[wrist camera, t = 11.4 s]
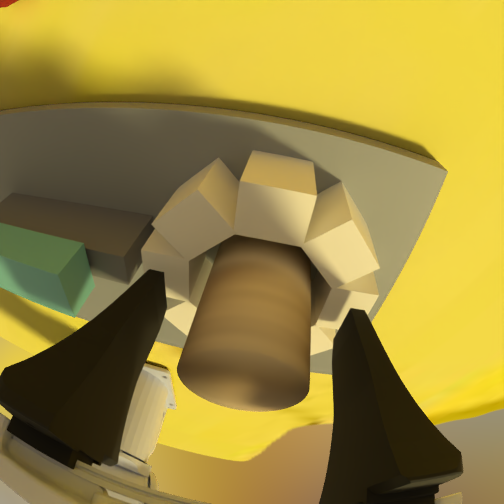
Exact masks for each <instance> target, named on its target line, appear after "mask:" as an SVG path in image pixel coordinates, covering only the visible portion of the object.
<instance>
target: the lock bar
mask: <svg viewBox="0 0 504 504" xmlns="http://www.w3.org/2000/svg"><path fill="white" fill-rule="evenodd" d="M0 287H1V288H3V289H5V290H7V291H10V292H12V293H14V294H16V295H19V296H21V297H23V298H26V299H28V300H31V301H33V302H35V303H38V304H40V305H43V306H45V307H48V308H51V309H53V310H56V311H58V312H61V313H64V314H66V315H69V316H72V317H76V315H77V314H78V312H79V310H80V309H81V307H82V306H83V304H84V303H85V301H86V299H87V298H88V296H89V295H90V293H91V292H92V290H93V289H94V287H95V284H94V280H93V277H92V273H91V270H90V266H89V262H88V258H87V254H86V250H85V246H84V243H81V242H77V241H73V240H68V239H64V238H60V237H56V236H52V235H48V234H44V233H39V232H35V231H31V230H27V229H23V228H19V227H15V226H12V225H8V224H4V223H0Z"/></svg>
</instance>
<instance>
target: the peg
mask: <svg viewBox="0 0 504 504" xmlns="http://www.w3.org/2000/svg"><path fill="white" fill-rule="evenodd" d="M310 353H311V260H310V258H309V257H308V256H307V254H306V253H305V252H304V250H303V249H302V248H301V247H299V246H293V245H288V244H283V243H278V242H273V241H268V240H263V239H257V238H252V237H247V236H242V235H236V234H234V235H233V236H231V237H229V238H227V239H226V240H224V241H222V242H221V244H220V247H219V249H218V252H217V255H216V257H215V260H214V263H213V266H212V268H211V271H210V274H209V277H208V279H207V282H206V285H205V288H204V291H203V293H202V296H201V299H200V302H199V305H198V307H197V310H196V313H195V316H194V319H193V322H192V325H191V327H190V330H189V333H188V336H187V339H186V342H185V345H184V348H183V351H182V354H181V357H180V360H179V363H178V366H177V373H178V376H179V378H180V380H181V381H182V383H183V384H184V385H185V386H186V387H187V388H188V389H189V390H191V391H192V392H193V393H195V394H196V395H198V396H200V397H202V398H203V399H206V400H208V401H210V402H212V403H215V404H218V405H221V406H224V407H228V408H232V409H237V410H244V411H258V412H262V411H275V410H281V409H285V408H288V407H291V406H293V405H296V404H298V403H299V402H301V401H302V400H303V399H304V398H305V397H306V396H307V394H308V392H309V385H310Z"/></svg>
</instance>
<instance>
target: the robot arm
mask: <svg viewBox="0 0 504 504" xmlns="http://www.w3.org/2000/svg"><path fill="white" fill-rule="evenodd" d="M166 310H167V300H166V289H165V277H164V272H161V271H156V270H152V269H149V270H147V271H146V272H145V273H144V274H143V275H142V276H141V277H140V278H139V279H138V280H137V281H136V282H135V283H134V284H132V285H131V286H130V287H129V288H128V289H127V290H126V291H125V292H124V293H123V294H122V295H120V296H119V297H118V298H117V299H116V300H115V301H114V302H113V303H111V304H110V305H109V306H108V307H107V308H106V309H104V310H103V311H102V312H101V313H99V314H98V315H97V316H96V317H95V318H93V319H92V320H91V321H89V322H88V323H87V324H85V325H84V326H83V327H81V328H80V329H79V330H77V331H76V332H74V333H73V334H71V335H70V336H68V337H67V338H65V339H63V340H62V341H60V342H59V343H57V344H55V345H54V346H52V347H50V348H48V349H46V350H44V351H42V352H40V353H38V354H37V355H35V356H33V357H30V358H28V359H26V360H24V361H21V362H19V363H16V364H14V365H11V366H9V367H6V368H5V369H4V370H3V372H2V373H1V375H0V405H1V406H3V407H4V408H5V409H6V410H7V411H8V412H10V413H11V414H12V415H13V417H12V419H11V420H9V419H8V418H7V417H5V416H4V415H3V414H1V413H0V480H2V481H3V482H4V483H5V484H6V485H7V486H8V487H10V488H11V489H12V490H13V491H14V492H16V493H17V494H18V495H19V496H21V497H22V498H23V499H24V500H26V501H27V502H28V503H30V504H210V503H204V502H200V501H195V500H191V499H186V498H182V497H178V496H175V495H171V494H167V493H164V492H160V491H159V485H158V481H157V479H156V477H155V475H154V473H153V472H151V467H152V466H150V465H148V464H147V461H148V458H149V456H150V455H151V454H152V453H153V451H154V450H155V447H156V444H157V441H158V437H159V434H160V431H161V427H162V424H163V421H164V417H165V414H166V411H167V408H170V409H176V407H177V405H176V400H175V395H174V390H173V385H172V379H171V374H170V371H168V370H167V369H164V368H160V367H157V366H153V365H150V364H146V363H145V362H146V360H147V358H148V355H149V353H150V351H151V349H152V347H153V344H154V342H155V340H156V338H157V335H158V333H159V331H160V328H161V325H162V322H163V319H164V316H165V313H166ZM332 379H333V402H334V422H333V433H332V441H331V449H330V456H329V462H328V468H327V473H326V479H325V483H324V487H323V491H322V495H321V498H320V502H319V504H462V493H461V492H459V493H455V494H452V495H448V496H444V497H441V498H437V499H435V496H434V494H436V493H438V491H439V485H440V484H443V483H445V482H448V481H450V480H453V479H455V478H457V477H459V476H461V474H462V473H463V464H462V456H461V452H460V451H459V450H458V449H457V448H456V447H455V446H454V445H452V444H451V443H450V442H449V441H448V440H447V439H446V438H445V437H444V436H443V435H442V434H441V433H440V431H439V430H438V429H437V428H436V427H435V426H434V425H433V423H432V422H431V421H430V420H429V419H428V417H427V416H426V415H425V414H424V412H423V411H422V410H421V408H420V407H419V406H418V404H417V403H416V402H415V400H414V399H413V397H412V396H411V394H410V393H409V391H408V390H407V388H406V387H405V385H404V384H403V382H402V381H401V379H400V377H399V375H398V374H397V372H396V370H395V368H394V367H393V365H392V363H391V361H390V359H389V357H388V355H387V353H386V352H385V350H384V348H383V346H382V344H381V342H380V340H379V338H378V336H377V334H376V332H375V330H374V328H373V326H372V323H371V321H370V319H369V317H368V315H367V314H366V312H365V310H361V309H354V308H350V310H349V312H348V313H347V315H346V317H345V319H344V321H343V323H342V324H341V326H340V328H339V330H338V332H337V333H336V335H335V337H334V339H333V350H332Z"/></svg>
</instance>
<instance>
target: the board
mask: <svg viewBox="0 0 504 504" xmlns="http://www.w3.org/2000/svg"><path fill="white" fill-rule="evenodd" d="M447 172H448V171H447V170H446V169H445V168H444V167H443V166H442V165H441V164H440V163H439V162H438V161H436V160H433V159H430V158H428V157H425V156H422V155H419V154H417V153H414V152H411V151H408V150H405V149H402V148H399V147H396V146H393V145H389V144H386V143H383V142H380V141H376V140H373V139H370V138H366V137H363V136H359V135H355V134H352V133H348V132H344V131H340V130H336V129H332V128H328V127H324V126H319V125H315V124H310V123H306V122H301V121H296V120H291V119H286V118H281V117H275V116H270V115H264V114H258V113H251V112H245V111H238V110H230V109H222V108H214V107H204V106H194V105H182V104H168V103H148V102H83V103H64V104H50V105H39V106H30V107H21V108H14V109H7V110H0V223H4V224H8V225H12V226H15V227H19V228H23V229H27V230H31V231H35V232H39V233H44V234H48V235H52V236H56V237H60V238H64V239H68V240H73V241H77V242H81V243H84V246H85V250H86V254H87V258H88V262H89V266H90V270H91V273H92V277H93V280H94V284H95V287H94V289H93V290H92V292H91V293H90V295H89V296H88V298H87V299H86V301H85V303H84V304H83V306H82V307H81V309H80V310H79V312H78V314H77V315H76V317H79V318H82V319H85V320H88V321H91V320H92V319H93V318H95V317H96V316H97V315H98V314H99V313H101V312H102V311H103V310H104V309H106V308H107V307H108V306H109V305H110V304H111V303H113V302H114V301H115V300H116V299H117V298H118V297H119V296H120V295H122V294H123V293H124V292H125V291H126V290H127V289H128V288H129V287H130V286H131V285H132V284H134V283H135V282H136V281H137V280H138V279H139V278H140V277H141V276H142V275H143V274H144V273H145V272H146V271H147V270H149V269H152V270H156V271H161V272H164V277H165V289H166V300H167V310H166V313H165V316H164V319H163V322H162V325H161V328H160V331H159V333H158V335H157V338H156V340H155V341H157V342H161V343H164V344H168V345H172V346H176V347H180V348H184V345H185V342H186V339H187V336H188V333H189V330H190V327H191V325H192V322H193V319H194V316H195V313H196V310H197V307H198V305H199V302H200V299H201V296H202V293H203V291H204V288H205V285H206V282H207V279H208V277H209V274H210V271H211V268H212V266H213V263H214V260H215V257H216V255H217V252H218V249H219V247H220V244H221V242H222V241H224V240H226V239H227V238H229V237H231V236H233V235H234V234H236V235H242V236H247V237H252V238H257V239H263V240H268V241H273V242H278V243H283V244H288V245H293V246H299V247H301V248H302V249H303V250H304V252H305V253H306V254H307V256H308V257H309V258H310V260H311V353H310V372H314V373H322V374H331V375H332V350H333V339H334V337H335V335H336V333H337V332H338V330H339V328H340V326H341V324H342V323H343V321H344V319H345V317H346V315H347V313H348V312H349V310H350V308H354V309H361V310H365V312H366V314H367V315H368V317H369V319H370V321H371V322H372V320H373V319H374V317H375V315H376V314H377V312H378V311H379V309H380V307H381V306H382V304H383V302H384V301H385V299H386V297H387V295H388V294H389V292H390V290H391V289H392V287H393V285H394V283H395V282H396V280H397V278H398V276H399V274H400V272H401V271H402V269H403V267H404V265H405V263H406V261H407V259H408V258H409V256H410V254H411V252H412V250H413V248H414V246H415V244H416V242H417V240H418V238H419V236H420V234H421V232H422V230H423V228H424V225H425V223H426V221H427V219H428V217H429V215H430V212H431V210H432V208H433V206H434V204H435V201H436V199H437V197H438V194H439V192H440V190H441V187H442V185H443V182H444V180H445V177H446V175H447Z"/></svg>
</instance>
